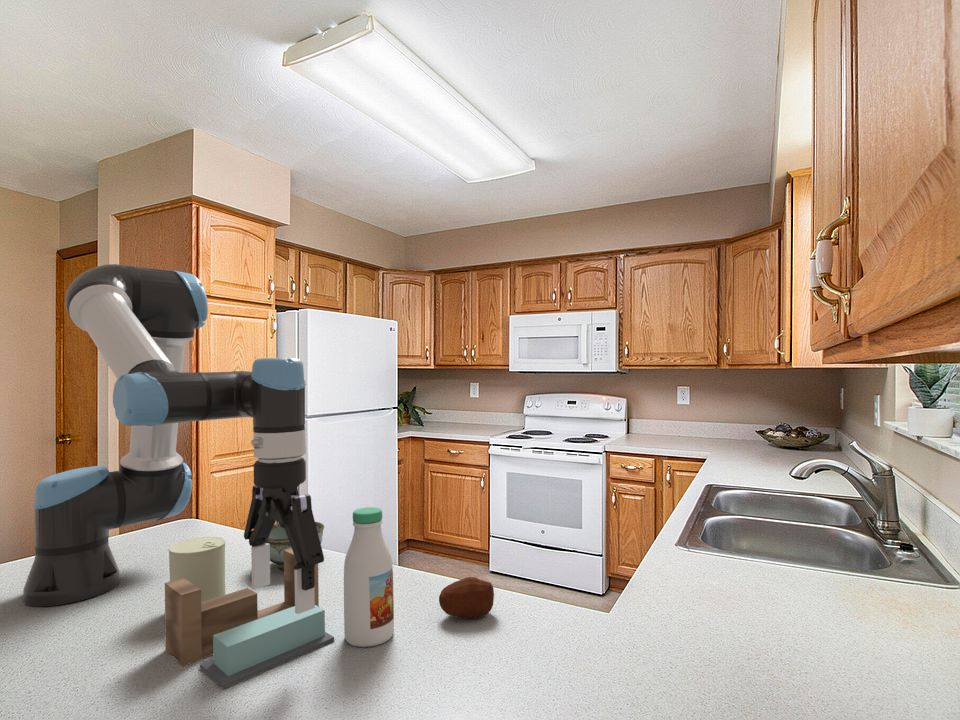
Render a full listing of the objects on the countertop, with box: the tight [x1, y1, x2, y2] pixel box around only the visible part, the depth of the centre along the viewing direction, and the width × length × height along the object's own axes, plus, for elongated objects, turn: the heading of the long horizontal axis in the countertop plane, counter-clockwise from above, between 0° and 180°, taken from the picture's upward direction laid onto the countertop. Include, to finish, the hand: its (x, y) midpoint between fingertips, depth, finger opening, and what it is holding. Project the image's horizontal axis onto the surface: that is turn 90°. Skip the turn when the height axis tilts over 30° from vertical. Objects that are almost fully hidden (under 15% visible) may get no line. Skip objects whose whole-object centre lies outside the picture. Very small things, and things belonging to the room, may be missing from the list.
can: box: [168, 536, 227, 602], centre depth 98 cm, size 9×9×12 cm
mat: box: [199, 631, 335, 690], centre depth 82 cm, size 8×17×1 cm, turn 137°
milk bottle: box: [343, 506, 395, 648], centre depth 87 cm, size 8×8×20 cm
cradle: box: [164, 548, 320, 667], centre depth 90 cm, size 7×22×10 cm, turn 137°
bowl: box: [264, 521, 325, 571], centre depth 119 cm, size 14×13×8 cm
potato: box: [438, 576, 495, 620], centre depth 93 cm, size 7×9×6 cm
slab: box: [212, 605, 326, 676], centre depth 82 cm, size 5×15×4 cm, turn 137°
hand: (281, 597), depth 84 cm, fingers open, 13 cm apart
